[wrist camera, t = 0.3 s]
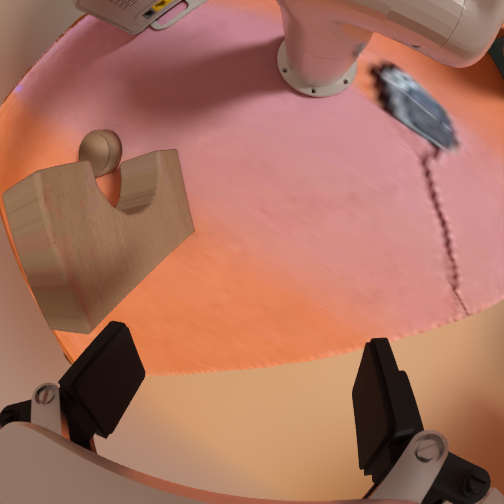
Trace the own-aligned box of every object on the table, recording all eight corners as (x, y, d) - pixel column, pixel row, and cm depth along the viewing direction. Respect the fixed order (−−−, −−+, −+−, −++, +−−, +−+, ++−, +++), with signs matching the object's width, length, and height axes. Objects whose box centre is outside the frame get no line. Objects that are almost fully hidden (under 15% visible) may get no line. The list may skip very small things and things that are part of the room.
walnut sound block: (89, 130, 43) (78, 131, 40) (123, 129, 43) (112, 129, 39) (87, 173, 47) (76, 176, 44) (120, 175, 46) (109, 178, 43)
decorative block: (141, 159, 45) (0, 193, 17) (177, 148, 43) (35, 170, 15) (160, 236, 50) (48, 329, 22) (195, 231, 48) (91, 334, 21)
